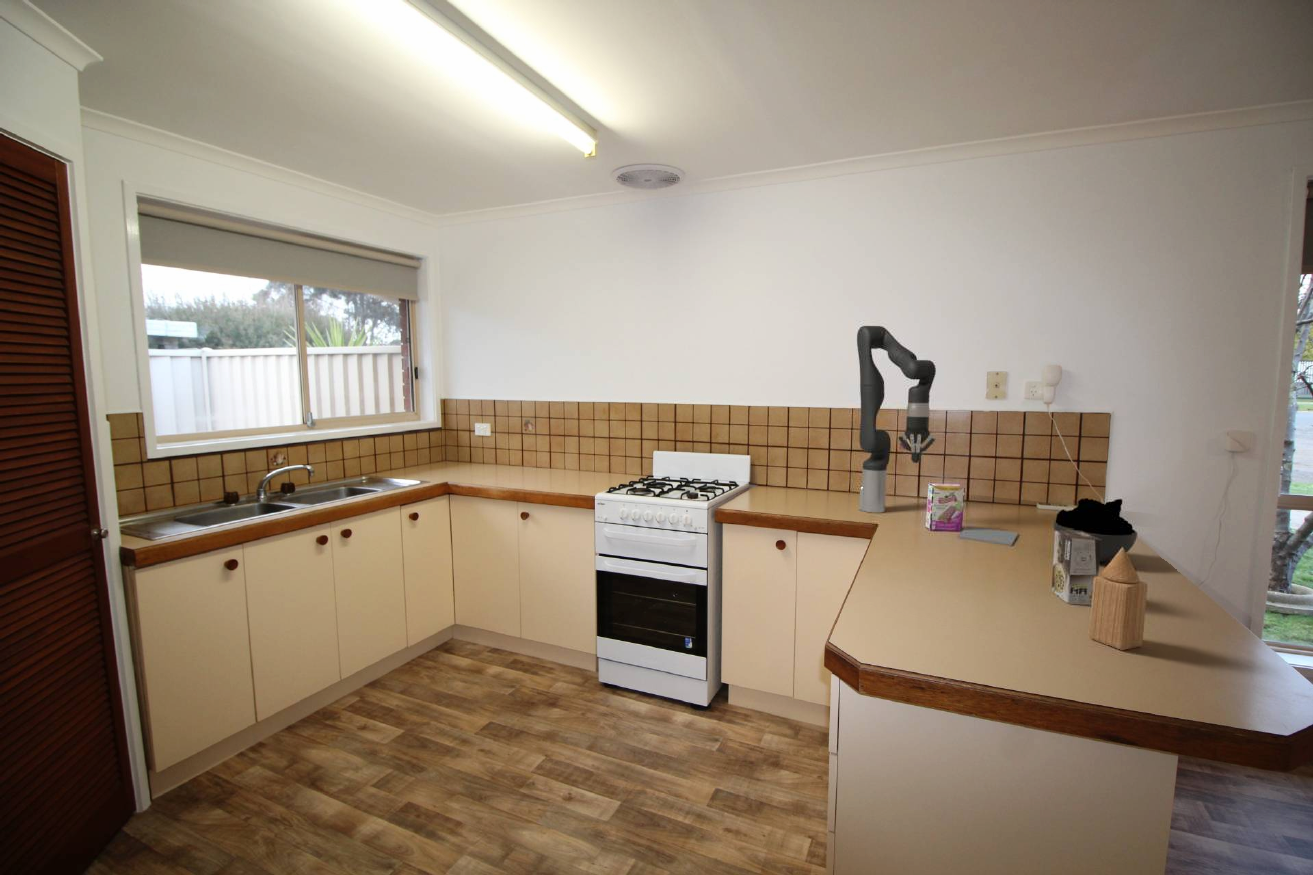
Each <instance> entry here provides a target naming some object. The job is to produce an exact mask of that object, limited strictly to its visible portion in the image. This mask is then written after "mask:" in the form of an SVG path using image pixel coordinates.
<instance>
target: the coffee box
mask: <svg viewBox="0 0 1313 875" xmlns="http://www.w3.org/2000/svg"><path fill="white" fill-rule="evenodd" d="M1053 545H1054V546H1053V557H1052V558H1053V560H1052V561H1053V562H1052V574H1051V575H1052V576H1051V577H1052V578H1051V580H1052V581H1051V592H1052V591H1053V592H1054V593H1055V594H1054V593H1053V592H1052V593H1053V594H1054V595H1056V596H1057V595H1058V596H1059V598H1060V599H1062V600H1063V601H1064V602H1065V603H1067V604H1069V605H1070V604H1071V605H1082V606H1092V593H1093V580H1094V578H1095V577H1098V576H1099V572H1100V571H1099V569H1100V562H1099V561H1100V548H1101V539H1099V538H1096V537H1094V536H1092V535H1090V534H1088V533H1086V532H1083V531H1075V530H1055V531H1054V544H1053ZM1058 596H1057V597H1058Z"/></svg>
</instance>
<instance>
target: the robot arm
mask: <svg viewBox="0 0 1313 875" xmlns="http://www.w3.org/2000/svg"><path fill="white" fill-rule="evenodd" d="M856 345H857V355H858V362H859V391H860V392H859V396H860V423H859V424H860V425H859V439H858V440H859V446H860V449H861V450H862V451H863V452H864V453H867V454H870V456H869V457H868V458H867V459H866V460H864V461H863V462H862V476H861V479H862V480H861V481H862V482H861V486H860V488H859V511H862V512H866V513H877V514H879V513H880V514H881V513H885V512H886V494H887V493H886V491H887V473H888V472H887V470H888V465H889V462H890V456H891V447H892V446H891V445H892V443H891V442H892V441H891V436H890V434H889V432H887V430H884V429H877V423H876V422H877V417H878V413H879V411H880V410H881V407H882V405H883V402H884V400H885V381H884V377H883V376H882V374H881V371H880V370H879V369H878V367H877V366H876V364H875V361H874V358H873V353H872V350H874V349H875V350H878V349H880V350H884V351H885V352H886V353H887V356H888V360H890V362H891V363H893V364H894V365H895V366H897V367H898V368H899V369H900V371H901V372H902V374H903V376H905V377H906V378H907V379H910V380H914V381H915V380H917V381H918V383H917V385H914V386H913V385H912V386H911V387H910V388H908V393H907V395H908V396H907V406H906V407H907V408H906V423H905V424H906V425H905V430H904V434H902V435H900V436H899V437H897V438H898V441H900V443H901V445H902V446H903V447H904V448H905V450H906V451H908V452H910V453H911V456H910V457H911V458H910V459H911V461H912V463H913V464H919V462H920V461H921V457H922V456H921V454H922V453H923V452H926V451H927V450H928V449H929V448H930V447H931V446H932V445H933V444H934V443H935V442H936V441H937V439H936V437H933V436H932V435H931V433H930V430H929V426H930V391H931V389H932V386H933V383H934V381H935V380H934V379H935V377H936V372H937V371H936V370H937V369H936V365H935V363H934V362H933V361H932V360H928V359H918V357H917V356H916V354H915V353H914V352H913V351H911V350H909V349H908V348H906V347H905V346H903V345H902V344H901V343H900V342H899V341H898V340H897V339H896V338H895V337H894V336H893V335H892V334H891V332H890V331H889V330H888V329H886V327H884V326H882V325H863V326H860V327H859V329H858V330H857V334H856ZM907 440H908V441H909V442H910V444H909V442H908V441H907ZM926 440H927V442H926V444H925V445H924V446H923V444H924V443H925V441H926Z"/></svg>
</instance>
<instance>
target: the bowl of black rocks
mask: <svg viewBox="0 0 1313 875" xmlns="http://www.w3.org/2000/svg"><path fill="white" fill-rule="evenodd" d="M1077 504H1078V505H1077V506H1076V507H1074V508H1073V509H1070V510H1065V509H1061V510H1060V511H1059V512H1058V513H1056V520H1055V521H1054V522H1053V529H1054V532H1055V530H1075V531H1083V532H1086V533H1088V534H1090V535H1092V536H1094V537H1096V538H1099V539H1101V548H1100V561H1099V563H1101V562H1108V561H1112V559H1113V558H1114V557H1115V556H1116V554H1117V553H1118V552H1119V551H1120V550H1121V548H1122V547H1123V548H1124V550H1125V552H1126V554H1127V553H1129V551H1130V550H1131V549H1132V548H1133V546H1134V544H1135V543H1136V542H1137V538H1138V532H1137V530H1135V529H1133V528H1134V527H1133V525H1132V523H1130V522H1129V521H1128V520H1126V519H1125V518H1123V517H1122V516H1120V515H1121V512H1122V504H1123V499H1122V498H1117V499H1114V500H1112V501H1107V502H1105V503H1103V502H1101V501H1098V500H1095V499H1093V498H1091V499H1089V498H1087V497H1085V498H1081V499H1079V500H1078V501H1077Z"/></svg>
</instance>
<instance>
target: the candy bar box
mask: <svg viewBox="0 0 1313 875" xmlns="http://www.w3.org/2000/svg"><path fill="white" fill-rule="evenodd" d="M965 490H966V487H965V486H964V485H961V484H958V483H957V484H956V483H955V484H954V483H928V485H927V500H926V514H925V517H926V518H925V528H926V529H927V530H929V531H932V532H933V531H936V532H962V531H963V520H964V519H963V518H964V504H965V492H966V491H965Z"/></svg>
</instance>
